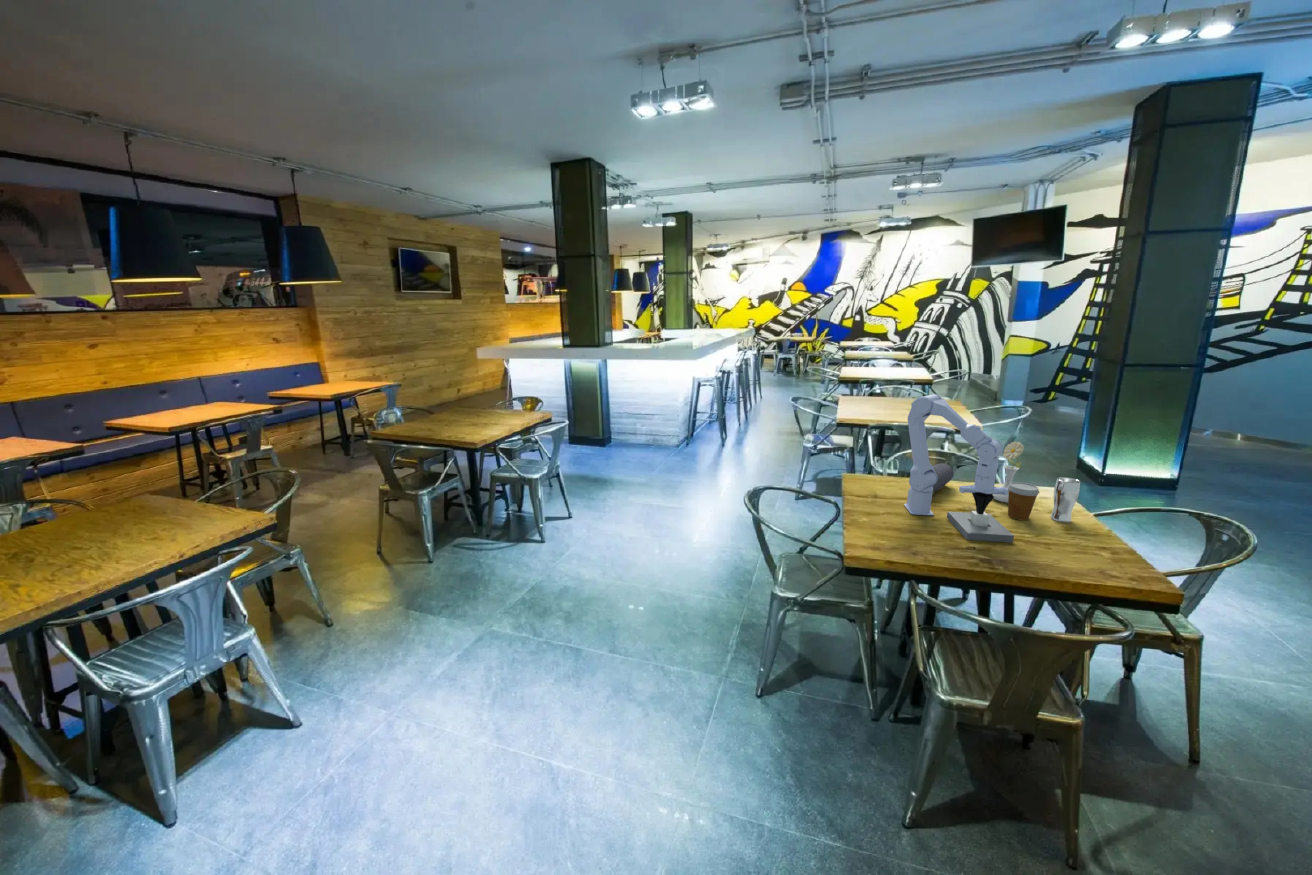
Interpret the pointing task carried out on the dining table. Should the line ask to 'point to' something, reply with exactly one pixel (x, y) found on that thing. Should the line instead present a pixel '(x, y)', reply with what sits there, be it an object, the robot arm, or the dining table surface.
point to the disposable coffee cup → (1021, 500)
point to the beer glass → (1065, 498)
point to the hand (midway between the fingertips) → (979, 512)
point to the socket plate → (980, 528)
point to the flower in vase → (1010, 467)
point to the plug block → (979, 519)
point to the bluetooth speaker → (942, 475)
